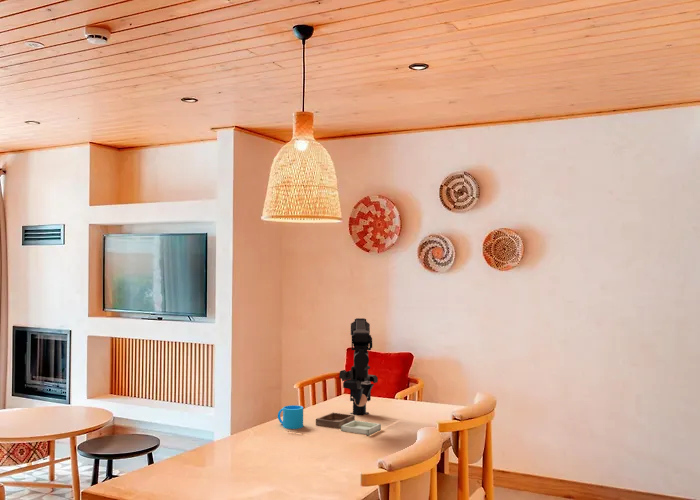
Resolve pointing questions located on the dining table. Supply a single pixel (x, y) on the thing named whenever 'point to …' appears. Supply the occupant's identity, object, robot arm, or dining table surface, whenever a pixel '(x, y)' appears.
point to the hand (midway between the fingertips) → (360, 403)
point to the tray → (361, 427)
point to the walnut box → (334, 420)
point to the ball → (362, 400)
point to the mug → (291, 417)
